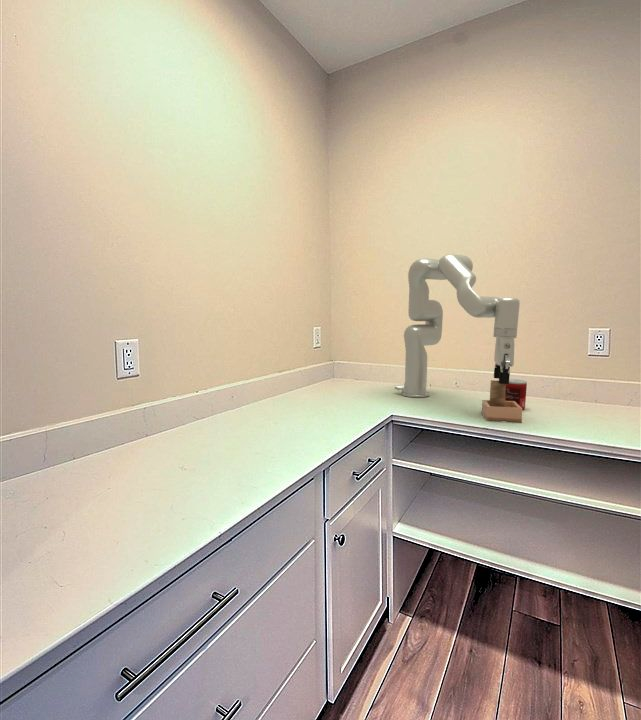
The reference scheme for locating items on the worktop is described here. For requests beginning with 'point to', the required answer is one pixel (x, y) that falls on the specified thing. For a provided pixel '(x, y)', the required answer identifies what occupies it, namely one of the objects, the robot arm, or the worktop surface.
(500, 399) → the tan brown block
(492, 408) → the wooden tray
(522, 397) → the canned food
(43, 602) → the worktop surface
